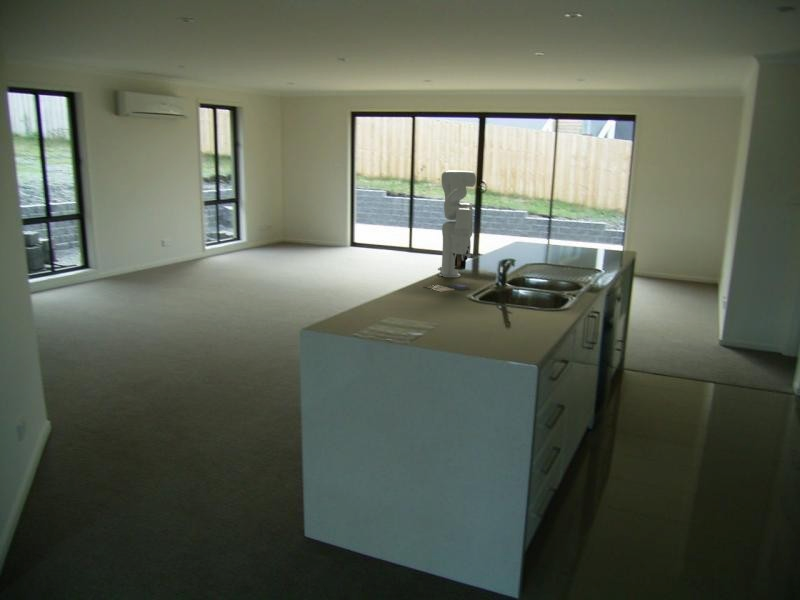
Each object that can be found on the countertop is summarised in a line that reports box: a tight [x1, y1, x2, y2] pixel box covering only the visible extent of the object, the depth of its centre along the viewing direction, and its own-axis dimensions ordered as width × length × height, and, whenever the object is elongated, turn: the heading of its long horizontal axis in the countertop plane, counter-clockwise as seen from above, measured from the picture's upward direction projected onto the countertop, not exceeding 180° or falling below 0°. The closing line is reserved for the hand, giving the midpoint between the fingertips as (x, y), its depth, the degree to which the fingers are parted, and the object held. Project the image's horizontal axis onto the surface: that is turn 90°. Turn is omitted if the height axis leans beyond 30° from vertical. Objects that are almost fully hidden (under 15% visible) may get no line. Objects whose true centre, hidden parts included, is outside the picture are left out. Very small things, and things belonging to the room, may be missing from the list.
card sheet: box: [431, 284, 456, 293], centre depth 331 cm, size 14×10×1 cm
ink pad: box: [447, 283, 471, 291], centre depth 334 cm, size 9×7×2 cm
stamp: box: [454, 254, 466, 271], centre depth 331 cm, size 4×4×8 cm
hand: (460, 266), depth 332 cm, fingers closed on stamp, 3 cm apart
